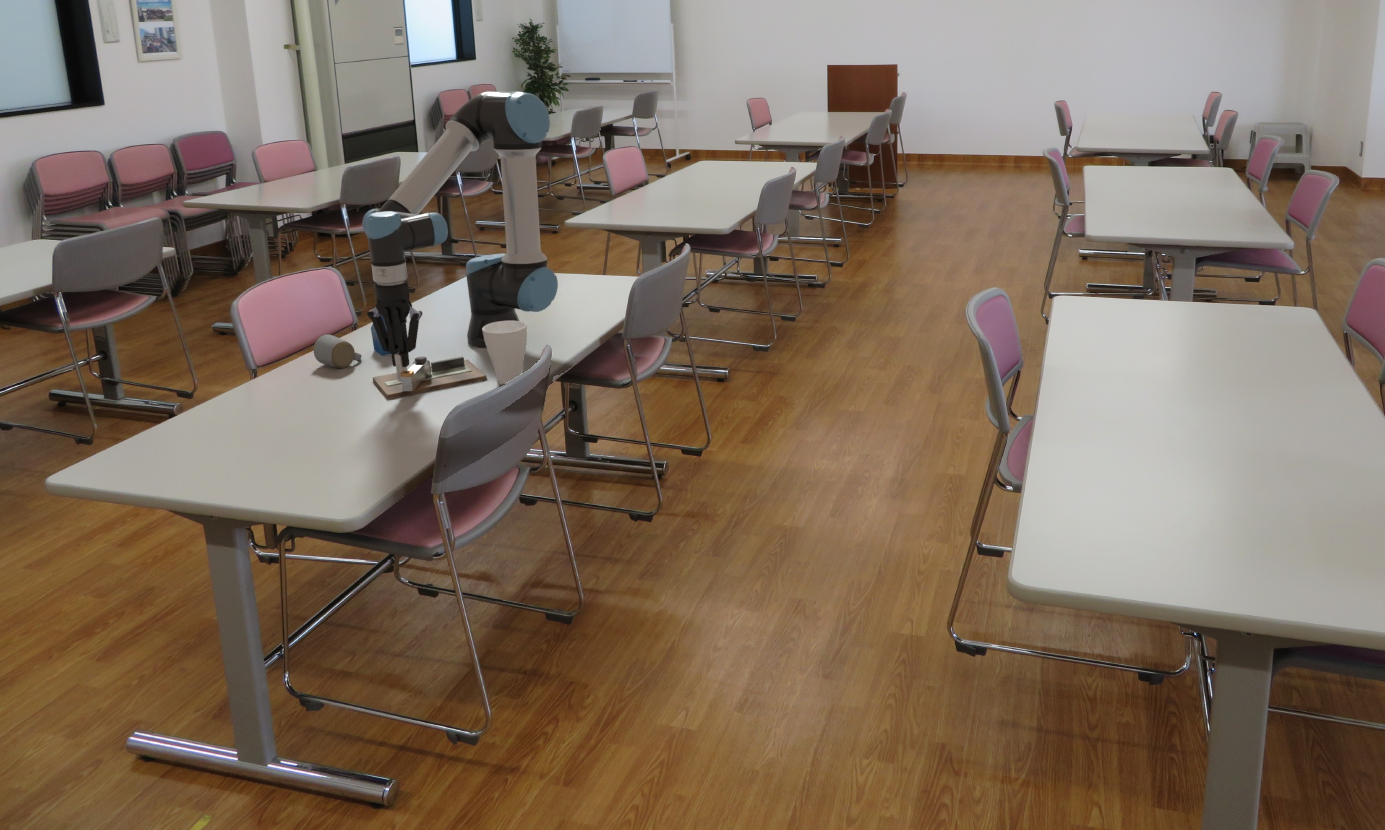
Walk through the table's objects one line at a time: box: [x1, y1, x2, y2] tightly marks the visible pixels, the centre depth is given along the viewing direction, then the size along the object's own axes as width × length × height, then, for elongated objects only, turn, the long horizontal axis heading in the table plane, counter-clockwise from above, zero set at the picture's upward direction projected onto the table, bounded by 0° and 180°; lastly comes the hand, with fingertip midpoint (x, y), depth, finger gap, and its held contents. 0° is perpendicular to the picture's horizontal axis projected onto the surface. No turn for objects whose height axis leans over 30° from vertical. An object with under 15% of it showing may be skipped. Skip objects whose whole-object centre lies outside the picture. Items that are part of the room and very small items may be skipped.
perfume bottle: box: [370, 314, 391, 356], centre depth 280 cm, size 6×6×12 cm
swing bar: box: [400, 359, 431, 391], centre depth 252 cm, size 13×4×4 cm, turn 175°
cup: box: [482, 320, 528, 385], centre depth 254 cm, size 10×10×14 cm
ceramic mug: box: [313, 334, 362, 369], centre depth 272 cm, size 11×8×8 cm
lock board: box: [372, 356, 488, 400], centre depth 257 cm, size 24×15×6 cm, turn 118°
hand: (402, 379), depth 250 cm, fingers closed
